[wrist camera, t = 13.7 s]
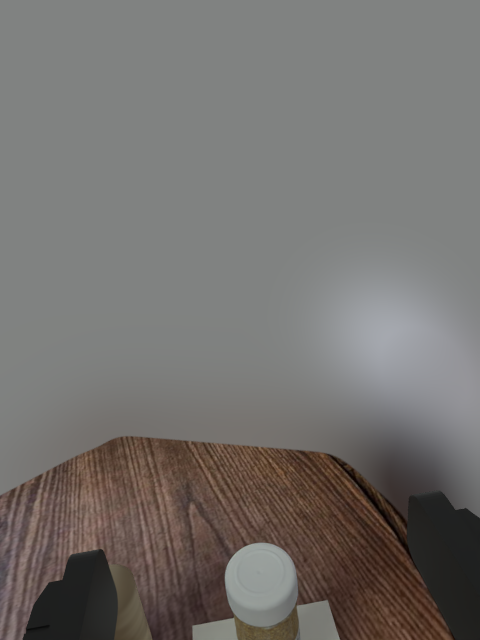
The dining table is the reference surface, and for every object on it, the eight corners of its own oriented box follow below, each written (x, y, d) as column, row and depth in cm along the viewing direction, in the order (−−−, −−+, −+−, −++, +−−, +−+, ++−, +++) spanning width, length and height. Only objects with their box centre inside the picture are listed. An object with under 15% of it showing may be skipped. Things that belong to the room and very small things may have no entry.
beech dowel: (106, 703, 35) (73, 621, 31) (113, 648, 38) (84, 569, 34) (157, 692, 35) (130, 610, 31) (159, 639, 39) (136, 560, 35)
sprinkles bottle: (237, 675, 35) (214, 554, 29) (290, 650, 36) (278, 529, 30) (259, 744, 30) (237, 619, 25) (318, 713, 32) (309, 588, 26)
